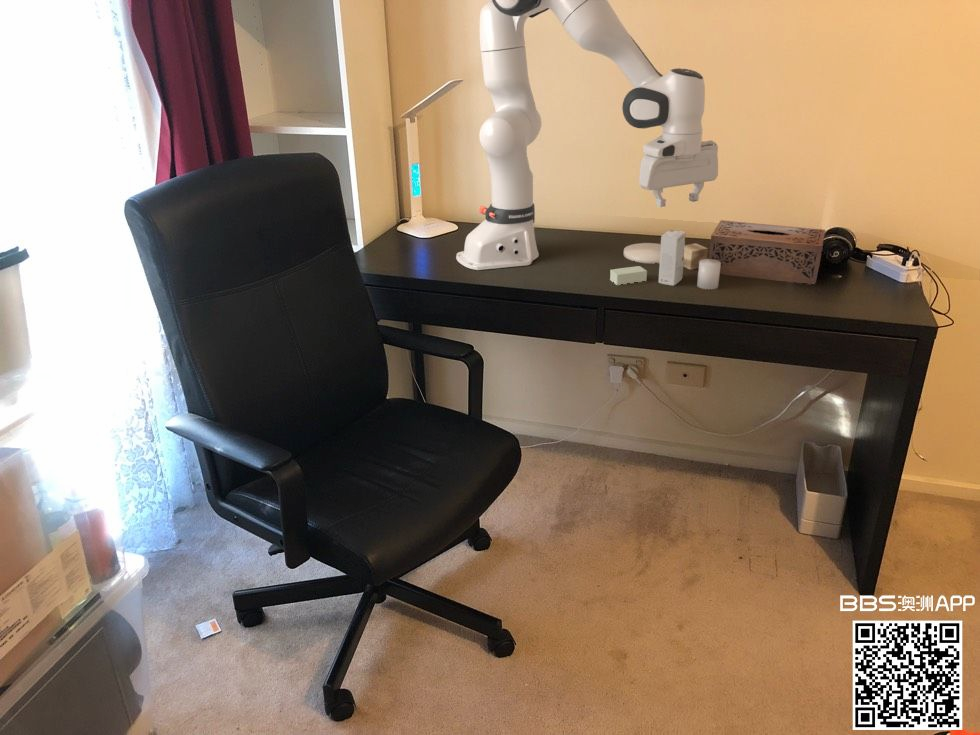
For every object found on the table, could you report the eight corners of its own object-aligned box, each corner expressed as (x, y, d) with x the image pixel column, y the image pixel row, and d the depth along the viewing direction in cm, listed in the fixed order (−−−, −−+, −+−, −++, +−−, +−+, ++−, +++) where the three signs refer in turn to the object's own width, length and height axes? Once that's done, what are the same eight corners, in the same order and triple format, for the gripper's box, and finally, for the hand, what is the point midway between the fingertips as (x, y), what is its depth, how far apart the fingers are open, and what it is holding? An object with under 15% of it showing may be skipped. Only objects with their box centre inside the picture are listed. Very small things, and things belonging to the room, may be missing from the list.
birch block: (690, 270, 206) (691, 251, 204) (678, 264, 210) (679, 246, 208) (706, 267, 208) (707, 248, 206) (694, 261, 212) (695, 243, 210)
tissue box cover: (818, 267, 206) (825, 229, 202) (815, 286, 194) (821, 246, 190) (716, 256, 216) (720, 220, 211) (707, 273, 204) (711, 235, 200)
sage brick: (616, 286, 197) (617, 274, 196) (610, 281, 200) (610, 269, 199) (646, 282, 199) (647, 270, 198) (638, 277, 203) (639, 265, 201)
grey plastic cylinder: (705, 290, 192) (708, 267, 190) (692, 284, 196) (695, 261, 194) (722, 287, 194) (725, 263, 191) (709, 281, 198) (711, 257, 196)
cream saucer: (642, 266, 209) (642, 262, 208) (613, 251, 220) (613, 247, 220) (686, 258, 214) (687, 254, 213) (656, 244, 225) (656, 240, 225)
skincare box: (674, 286, 195) (678, 238, 190) (657, 283, 198) (660, 235, 192) (683, 278, 200) (687, 231, 195) (665, 275, 202) (669, 229, 197)
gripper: (709, 137, 190) (704, 195, 196) (636, 146, 183) (633, 206, 189) (726, 141, 185) (721, 200, 191) (652, 151, 178) (649, 212, 184)
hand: (677, 203), depth 190 cm, fingers open, 8 cm apart
